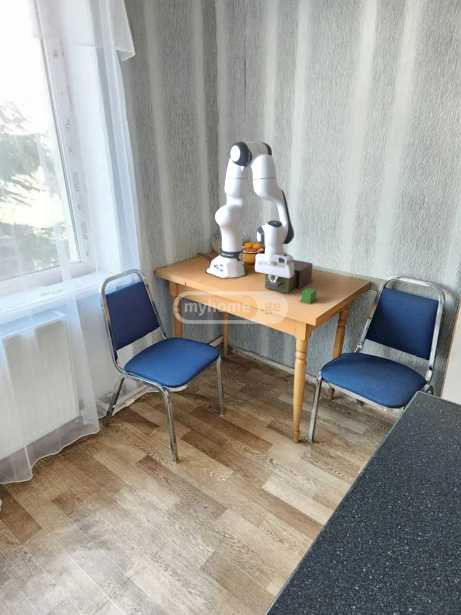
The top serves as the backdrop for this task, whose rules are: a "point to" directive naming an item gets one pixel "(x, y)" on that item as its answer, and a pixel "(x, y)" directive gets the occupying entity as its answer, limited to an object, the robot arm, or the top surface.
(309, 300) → the green block
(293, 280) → the drawer
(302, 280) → the cabinet
